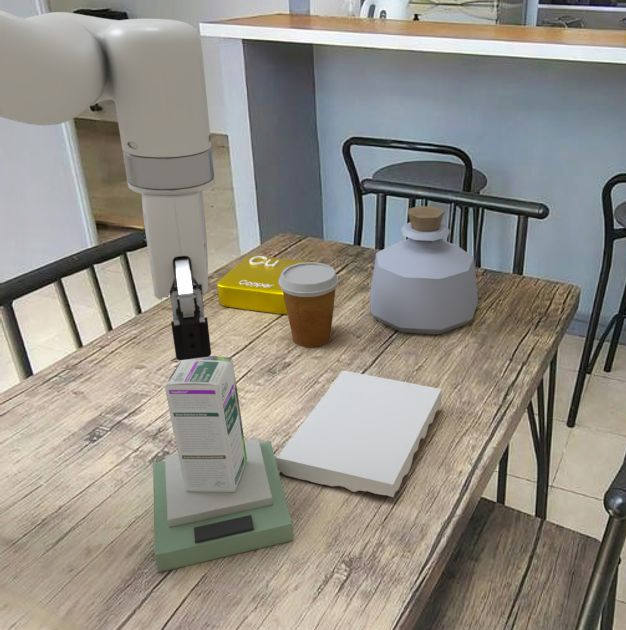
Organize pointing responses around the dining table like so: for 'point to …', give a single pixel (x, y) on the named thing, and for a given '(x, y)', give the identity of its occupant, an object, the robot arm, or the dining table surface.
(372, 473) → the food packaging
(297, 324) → the disposable coffee cup
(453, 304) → the bottle
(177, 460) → the scale
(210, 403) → the syrup box
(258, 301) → the element tile
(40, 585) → the dining table surface
